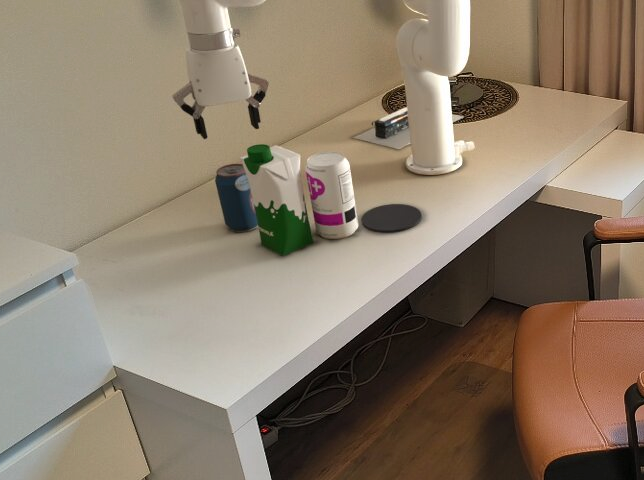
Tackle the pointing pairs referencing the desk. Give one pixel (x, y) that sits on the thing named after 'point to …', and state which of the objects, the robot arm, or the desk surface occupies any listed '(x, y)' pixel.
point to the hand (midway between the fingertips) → (229, 131)
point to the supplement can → (331, 195)
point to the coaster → (391, 218)
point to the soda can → (236, 198)
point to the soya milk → (278, 197)
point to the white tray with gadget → (392, 130)
